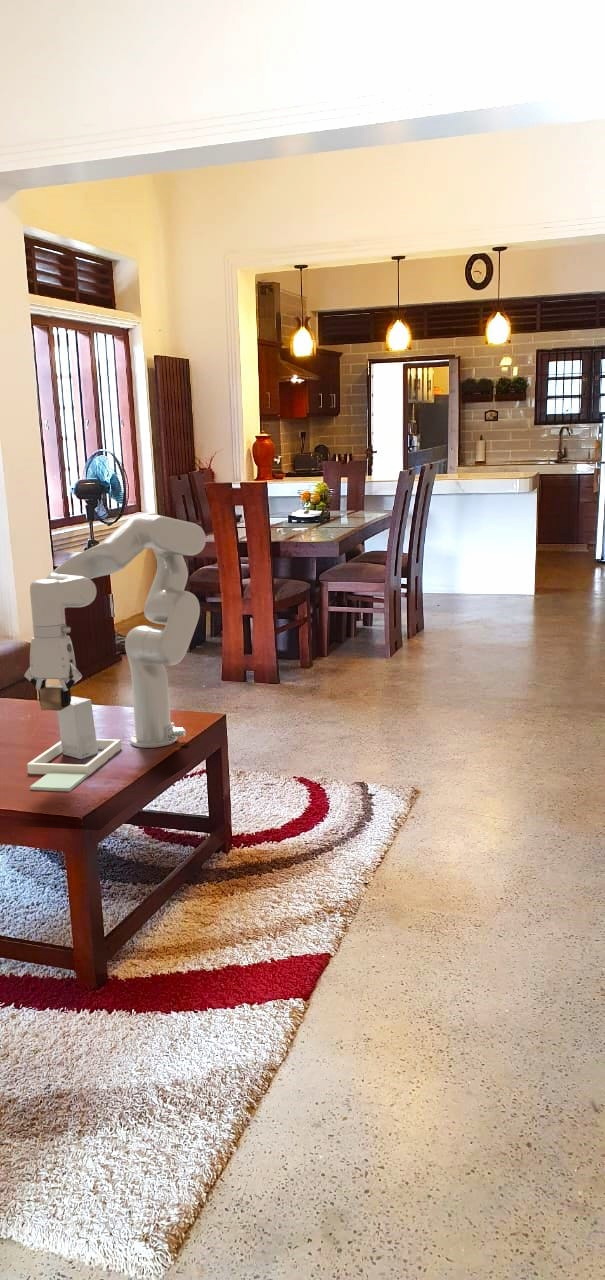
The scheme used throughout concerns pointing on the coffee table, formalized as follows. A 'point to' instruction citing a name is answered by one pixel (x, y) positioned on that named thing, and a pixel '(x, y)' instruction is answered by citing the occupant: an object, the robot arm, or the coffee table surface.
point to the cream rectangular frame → (43, 767)
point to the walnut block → (51, 698)
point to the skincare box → (78, 729)
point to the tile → (58, 781)
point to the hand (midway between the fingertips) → (55, 704)
